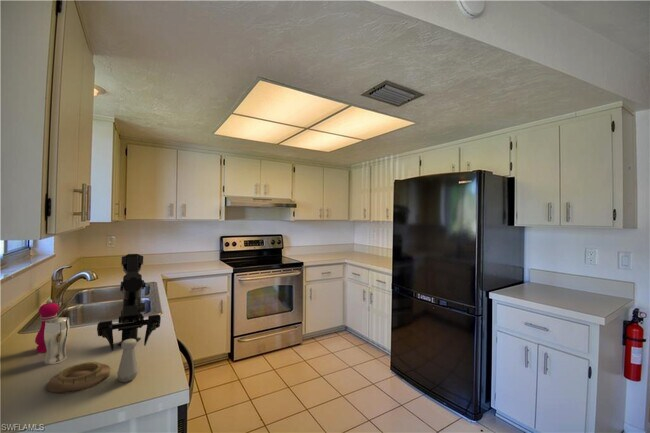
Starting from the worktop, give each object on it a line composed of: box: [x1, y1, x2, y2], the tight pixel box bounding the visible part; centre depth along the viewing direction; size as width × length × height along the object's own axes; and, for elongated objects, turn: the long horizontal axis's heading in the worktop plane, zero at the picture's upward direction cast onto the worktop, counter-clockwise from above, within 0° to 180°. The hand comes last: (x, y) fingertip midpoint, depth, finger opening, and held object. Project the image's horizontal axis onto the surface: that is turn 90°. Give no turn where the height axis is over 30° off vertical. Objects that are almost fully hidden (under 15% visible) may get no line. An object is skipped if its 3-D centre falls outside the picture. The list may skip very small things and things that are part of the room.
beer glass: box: [44, 316, 71, 365], centre depth 108 cm, size 7×7×15 cm
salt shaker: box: [117, 339, 139, 383], centre depth 98 cm, size 6×6×13 cm
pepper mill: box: [34, 298, 60, 354], centre depth 117 cm, size 7×7×20 cm
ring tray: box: [46, 361, 111, 395], centre depth 97 cm, size 16×16×3 cm
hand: (129, 347), depth 100 cm, fingers open, 9 cm apart
